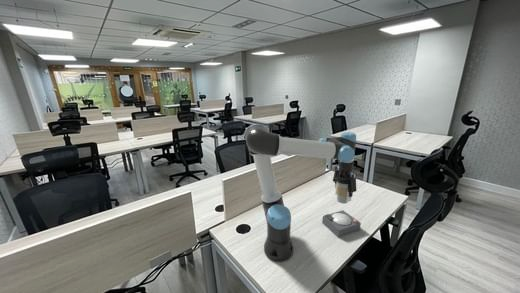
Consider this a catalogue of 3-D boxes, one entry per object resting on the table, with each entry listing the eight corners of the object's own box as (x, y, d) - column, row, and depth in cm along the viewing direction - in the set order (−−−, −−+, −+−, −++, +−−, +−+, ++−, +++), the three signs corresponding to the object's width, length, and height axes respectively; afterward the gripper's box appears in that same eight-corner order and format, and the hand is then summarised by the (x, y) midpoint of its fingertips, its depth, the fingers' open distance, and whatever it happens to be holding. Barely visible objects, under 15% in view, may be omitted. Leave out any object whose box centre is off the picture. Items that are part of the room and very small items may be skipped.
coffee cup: (352, 206, 113) (355, 181, 109) (335, 204, 115) (337, 180, 111) (349, 197, 122) (351, 174, 118) (332, 196, 124) (334, 173, 119)
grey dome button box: (338, 237, 114) (339, 228, 112) (322, 223, 127) (322, 214, 125) (359, 230, 120) (361, 221, 118) (342, 216, 132) (343, 208, 131)
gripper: (367, 165, 103) (362, 205, 109) (338, 154, 122) (335, 188, 128) (356, 168, 100) (351, 208, 107) (327, 156, 119) (325, 190, 126)
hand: (342, 197), depth 118 cm, fingers closed on coffee cup, 8 cm apart
